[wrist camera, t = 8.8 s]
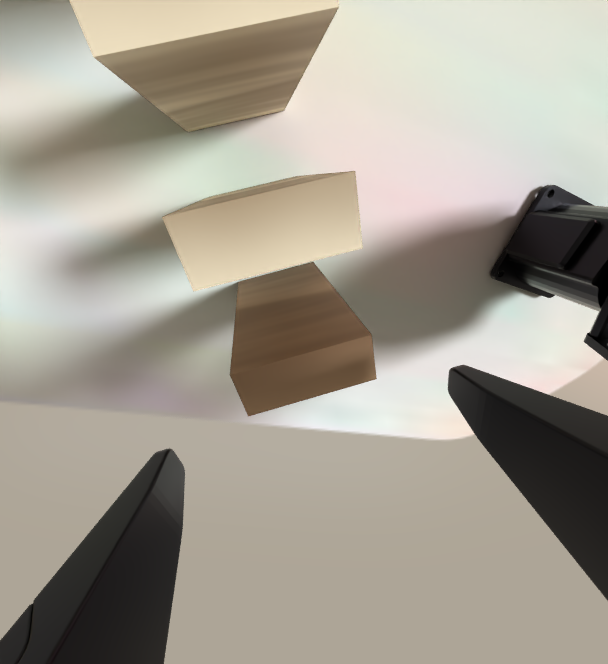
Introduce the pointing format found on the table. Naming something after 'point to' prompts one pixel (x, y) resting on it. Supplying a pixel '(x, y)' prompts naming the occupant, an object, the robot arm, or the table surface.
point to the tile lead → (295, 340)
